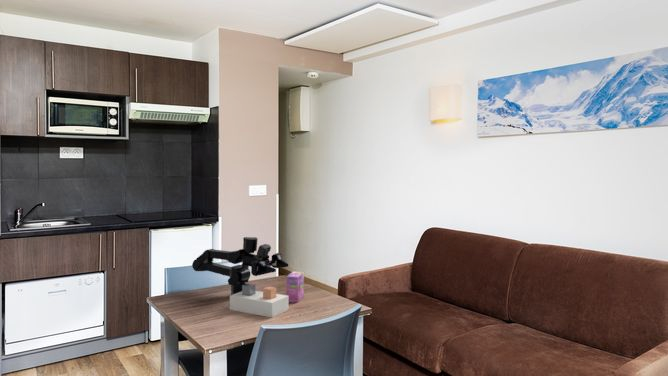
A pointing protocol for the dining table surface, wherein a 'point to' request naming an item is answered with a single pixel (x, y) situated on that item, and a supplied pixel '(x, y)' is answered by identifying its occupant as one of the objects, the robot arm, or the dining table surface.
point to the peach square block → (269, 292)
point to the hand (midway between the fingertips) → (282, 267)
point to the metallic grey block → (248, 289)
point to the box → (295, 286)
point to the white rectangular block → (259, 304)
